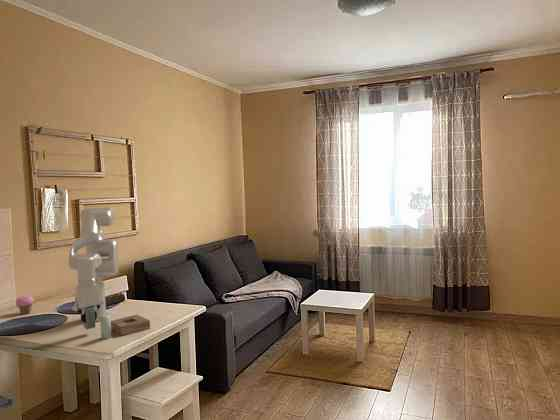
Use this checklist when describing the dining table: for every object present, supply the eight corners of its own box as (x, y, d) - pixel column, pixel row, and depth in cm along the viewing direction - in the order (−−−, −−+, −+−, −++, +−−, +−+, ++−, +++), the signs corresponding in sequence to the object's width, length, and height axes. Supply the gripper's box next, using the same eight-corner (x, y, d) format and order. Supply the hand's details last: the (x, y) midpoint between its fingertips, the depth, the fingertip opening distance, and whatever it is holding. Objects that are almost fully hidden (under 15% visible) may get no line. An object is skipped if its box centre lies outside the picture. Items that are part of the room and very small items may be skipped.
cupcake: (33, 314, 234) (32, 296, 234) (15, 316, 231) (14, 298, 230) (35, 310, 242) (34, 292, 242) (17, 312, 239) (16, 294, 238)
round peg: (99, 337, 193) (98, 316, 193) (109, 335, 196) (108, 314, 196) (103, 340, 190) (102, 318, 190) (113, 337, 193) (112, 316, 193)
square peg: (86, 329, 196) (85, 308, 195) (83, 327, 199) (82, 306, 198) (95, 327, 199) (94, 306, 198) (92, 325, 202) (91, 304, 201)
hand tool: (120, 300, 259) (120, 291, 259) (125, 301, 257) (125, 292, 257) (87, 310, 240) (86, 300, 240) (92, 311, 238) (91, 301, 237)
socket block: (109, 329, 205) (109, 321, 205) (137, 322, 215) (136, 314, 215) (121, 335, 195) (121, 327, 195) (150, 328, 205) (149, 320, 205)
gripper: (102, 278, 205) (103, 314, 207) (65, 284, 194) (67, 323, 195) (108, 280, 200) (110, 318, 202) (70, 287, 188) (73, 327, 190)
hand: (89, 320), depth 199 cm, fingers closed on square peg, 4 cm apart
